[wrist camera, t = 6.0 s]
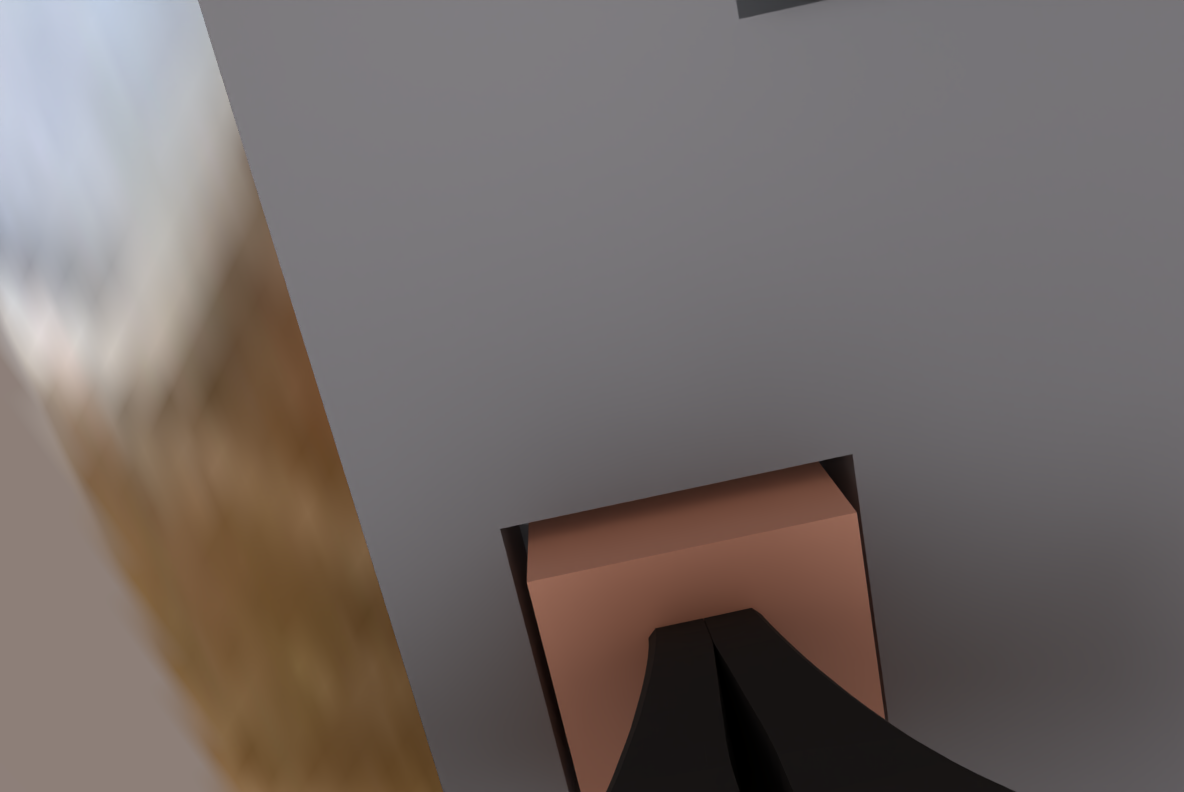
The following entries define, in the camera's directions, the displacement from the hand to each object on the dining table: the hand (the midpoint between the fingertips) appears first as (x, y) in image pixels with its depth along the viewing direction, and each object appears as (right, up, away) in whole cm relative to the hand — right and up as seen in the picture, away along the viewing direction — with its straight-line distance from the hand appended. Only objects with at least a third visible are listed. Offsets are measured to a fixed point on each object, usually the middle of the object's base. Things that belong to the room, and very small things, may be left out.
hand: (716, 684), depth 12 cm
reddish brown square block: (0, +1, +3) cm, 3 cm away
